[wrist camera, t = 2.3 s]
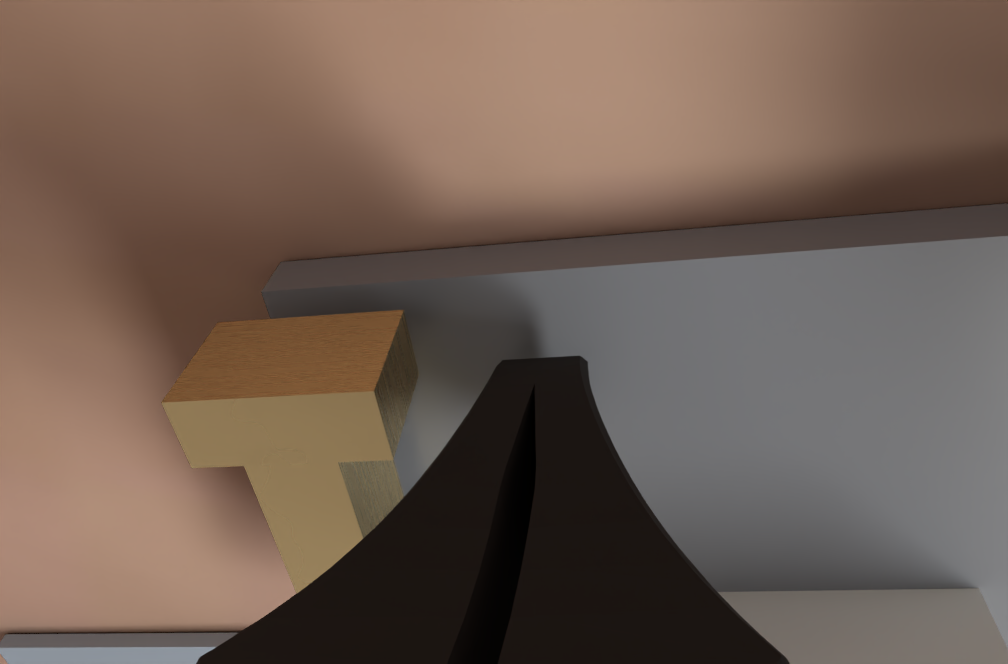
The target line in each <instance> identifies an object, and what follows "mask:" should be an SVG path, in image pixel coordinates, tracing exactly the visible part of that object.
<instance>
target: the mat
mask: <svg viewBox="0 0 1008 664" xmlns="http://www.w3.org/2000/svg"><path fill="white" fill-rule="evenodd" d="M236 634H238V633H114V634H5V636H4V637H3V639H2V640H1V641H0V654H1V655H2V656H3V658H4V659H5V660H6V662H7V663H8V664H196V663H197V661H198V659H199V657H200V656H202V655H204V654H206V653H207V652H209V651H211V650H212V649H214V648H216V647H217V646H219V645H220V644H222V643H224V642H225V641H227V640H228V639H230V638H232V637H233V636H235V635H236Z"/></svg>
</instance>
